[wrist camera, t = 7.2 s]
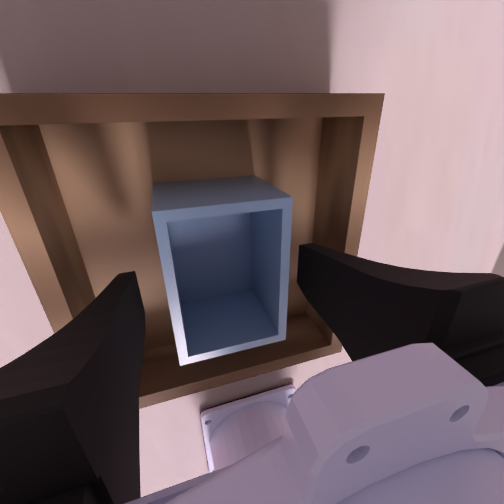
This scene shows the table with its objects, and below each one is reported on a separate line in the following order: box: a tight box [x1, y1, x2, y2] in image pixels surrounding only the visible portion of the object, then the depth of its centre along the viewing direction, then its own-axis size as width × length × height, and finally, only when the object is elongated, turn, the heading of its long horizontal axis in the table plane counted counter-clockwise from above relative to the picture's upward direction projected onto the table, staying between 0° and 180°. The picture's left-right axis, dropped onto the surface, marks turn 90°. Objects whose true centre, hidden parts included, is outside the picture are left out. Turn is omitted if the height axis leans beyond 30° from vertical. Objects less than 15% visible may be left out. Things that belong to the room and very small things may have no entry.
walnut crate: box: [0, 93, 385, 409], centre depth 14 cm, size 14×14×4 cm
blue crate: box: [152, 175, 293, 366], centre depth 13 cm, size 7×5×4 cm
